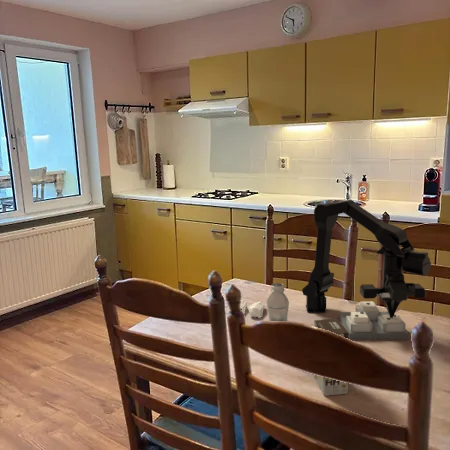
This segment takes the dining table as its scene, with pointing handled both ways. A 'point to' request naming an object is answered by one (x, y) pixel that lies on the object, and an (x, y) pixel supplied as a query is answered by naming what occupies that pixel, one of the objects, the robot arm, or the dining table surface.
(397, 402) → the dining table surface
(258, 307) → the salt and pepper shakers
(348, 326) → the panel
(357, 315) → the button two
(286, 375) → the dining table surface
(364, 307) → the button one
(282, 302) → the plastic bottle
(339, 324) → the coffee box
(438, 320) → the dining table surface
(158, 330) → the dining table surface
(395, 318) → the button three
